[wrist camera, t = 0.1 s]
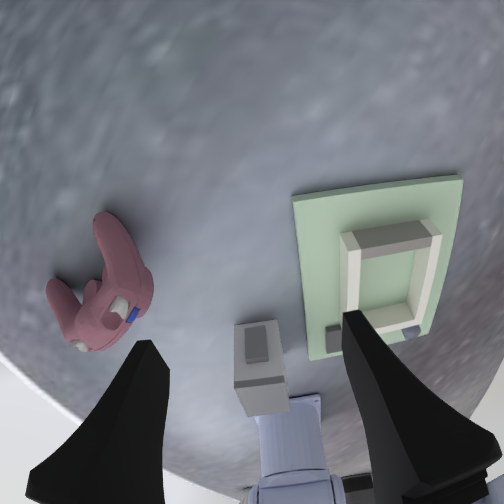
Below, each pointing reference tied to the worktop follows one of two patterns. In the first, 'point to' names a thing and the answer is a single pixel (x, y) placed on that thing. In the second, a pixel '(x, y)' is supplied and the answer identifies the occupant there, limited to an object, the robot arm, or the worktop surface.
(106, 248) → the video game controller
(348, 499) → the electronic device
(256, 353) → the plug
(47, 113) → the worktop surface
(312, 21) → the worktop surface
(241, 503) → the cupcake
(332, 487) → the robot arm
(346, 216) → the board
